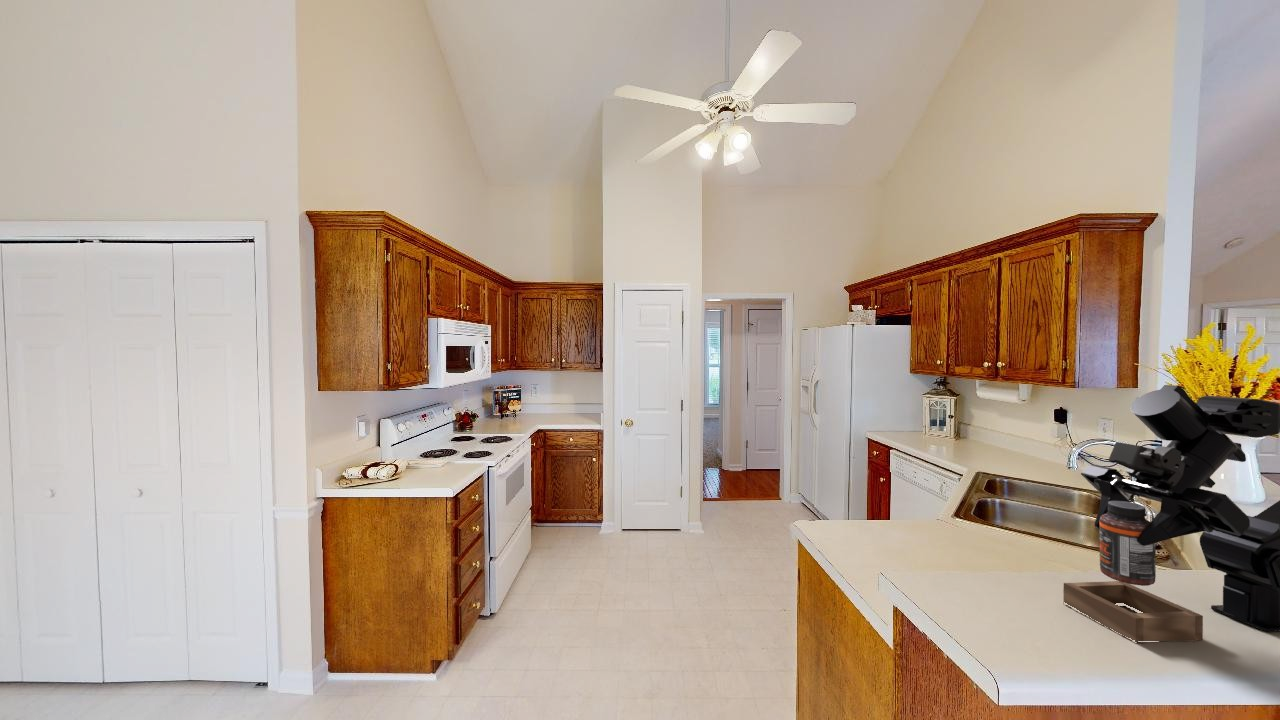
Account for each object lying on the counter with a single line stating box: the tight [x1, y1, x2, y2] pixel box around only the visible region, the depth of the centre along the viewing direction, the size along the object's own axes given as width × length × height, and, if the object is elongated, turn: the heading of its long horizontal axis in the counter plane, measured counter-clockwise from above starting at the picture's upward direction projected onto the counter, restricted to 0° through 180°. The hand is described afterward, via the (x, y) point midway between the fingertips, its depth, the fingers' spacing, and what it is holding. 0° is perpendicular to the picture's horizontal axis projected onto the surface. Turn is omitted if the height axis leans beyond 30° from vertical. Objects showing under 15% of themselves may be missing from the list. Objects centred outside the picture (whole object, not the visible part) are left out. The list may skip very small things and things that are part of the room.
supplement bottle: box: [1098, 501, 1157, 587], centre depth 72 cm, size 6×6×11 cm
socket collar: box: [1063, 580, 1204, 642], centre depth 72 cm, size 10×10×4 cm
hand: (1117, 535), depth 72 cm, fingers closed on supplement bottle, 6 cm apart
